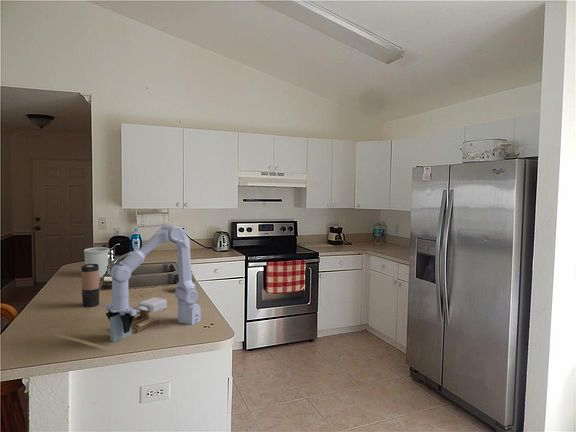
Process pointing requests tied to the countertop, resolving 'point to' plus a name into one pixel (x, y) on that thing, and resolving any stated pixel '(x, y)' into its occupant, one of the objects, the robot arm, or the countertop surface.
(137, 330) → the tray
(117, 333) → the board
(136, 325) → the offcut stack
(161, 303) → the charger
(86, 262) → the utensil holder
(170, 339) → the countertop surface
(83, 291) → the travel mug
